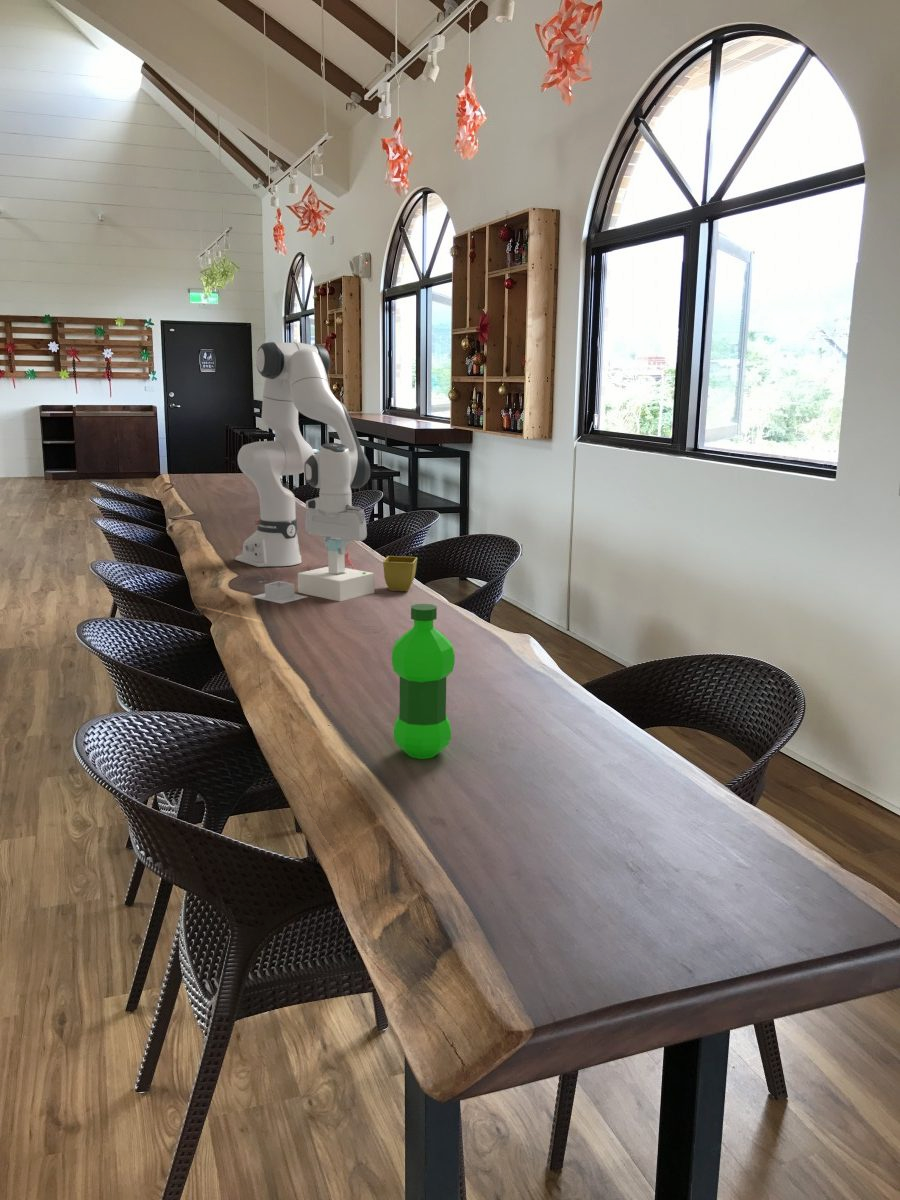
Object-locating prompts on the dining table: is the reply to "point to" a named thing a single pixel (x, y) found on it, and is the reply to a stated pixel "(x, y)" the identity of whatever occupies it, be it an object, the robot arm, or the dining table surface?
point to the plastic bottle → (422, 685)
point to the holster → (279, 593)
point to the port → (336, 583)
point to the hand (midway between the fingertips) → (336, 553)
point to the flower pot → (399, 572)
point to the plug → (335, 556)
